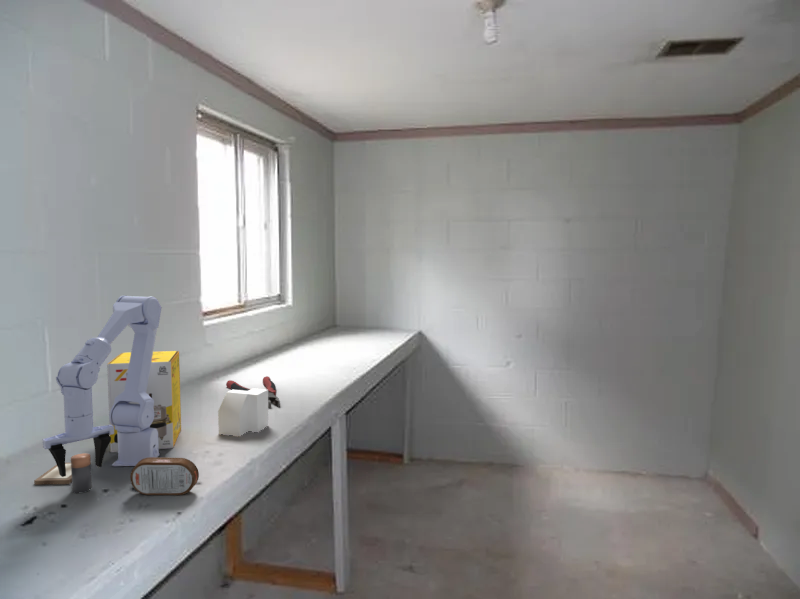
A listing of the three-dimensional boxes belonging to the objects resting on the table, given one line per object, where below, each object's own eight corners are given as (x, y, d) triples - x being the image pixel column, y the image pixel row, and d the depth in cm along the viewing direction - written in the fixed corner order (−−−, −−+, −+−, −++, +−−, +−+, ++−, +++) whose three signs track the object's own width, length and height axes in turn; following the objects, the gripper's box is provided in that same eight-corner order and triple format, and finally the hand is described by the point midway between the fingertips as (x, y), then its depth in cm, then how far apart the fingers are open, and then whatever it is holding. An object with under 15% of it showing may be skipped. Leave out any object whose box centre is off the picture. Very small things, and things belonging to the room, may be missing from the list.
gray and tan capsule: (95, 485, 132) (93, 453, 131) (86, 493, 128) (85, 459, 127) (77, 485, 132) (76, 453, 131) (68, 493, 128) (67, 459, 127)
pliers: (299, 406, 201) (299, 397, 201) (250, 413, 192) (250, 403, 192) (269, 383, 234) (269, 375, 233) (226, 387, 225) (226, 379, 224)
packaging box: (110, 452, 153) (107, 363, 151) (124, 433, 169) (121, 352, 166) (173, 448, 157) (170, 361, 154) (181, 429, 173) (179, 350, 170)
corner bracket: (268, 426, 177) (268, 389, 176) (249, 438, 166) (249, 399, 165) (239, 423, 180) (238, 386, 178) (218, 434, 169) (217, 395, 168)
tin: (199, 490, 130) (198, 456, 129) (195, 496, 127) (194, 461, 126) (135, 490, 130) (133, 456, 129) (128, 496, 127) (127, 461, 126)
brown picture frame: (91, 465, 144) (91, 461, 144) (69, 484, 133) (68, 479, 133) (59, 466, 143) (59, 462, 143) (34, 484, 132) (34, 480, 132)
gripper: (105, 404, 136) (107, 457, 138) (37, 417, 126) (40, 474, 127) (116, 410, 132) (118, 465, 133) (47, 423, 121) (49, 483, 122)
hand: (81, 470), depth 130 cm, fingers open, 7 cm apart
